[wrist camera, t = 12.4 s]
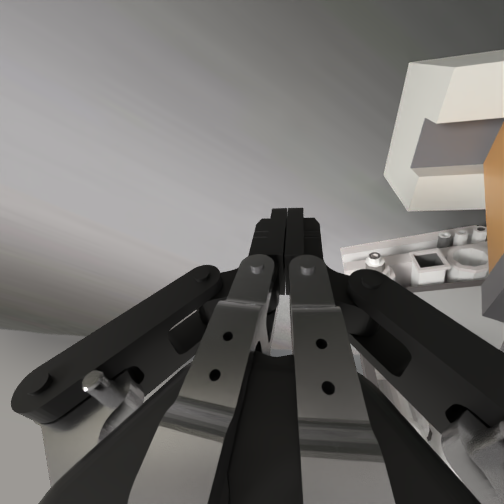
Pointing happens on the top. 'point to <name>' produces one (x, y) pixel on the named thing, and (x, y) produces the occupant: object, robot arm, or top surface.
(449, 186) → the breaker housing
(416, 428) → the electrical transformer
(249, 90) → the top surface
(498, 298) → the lever
